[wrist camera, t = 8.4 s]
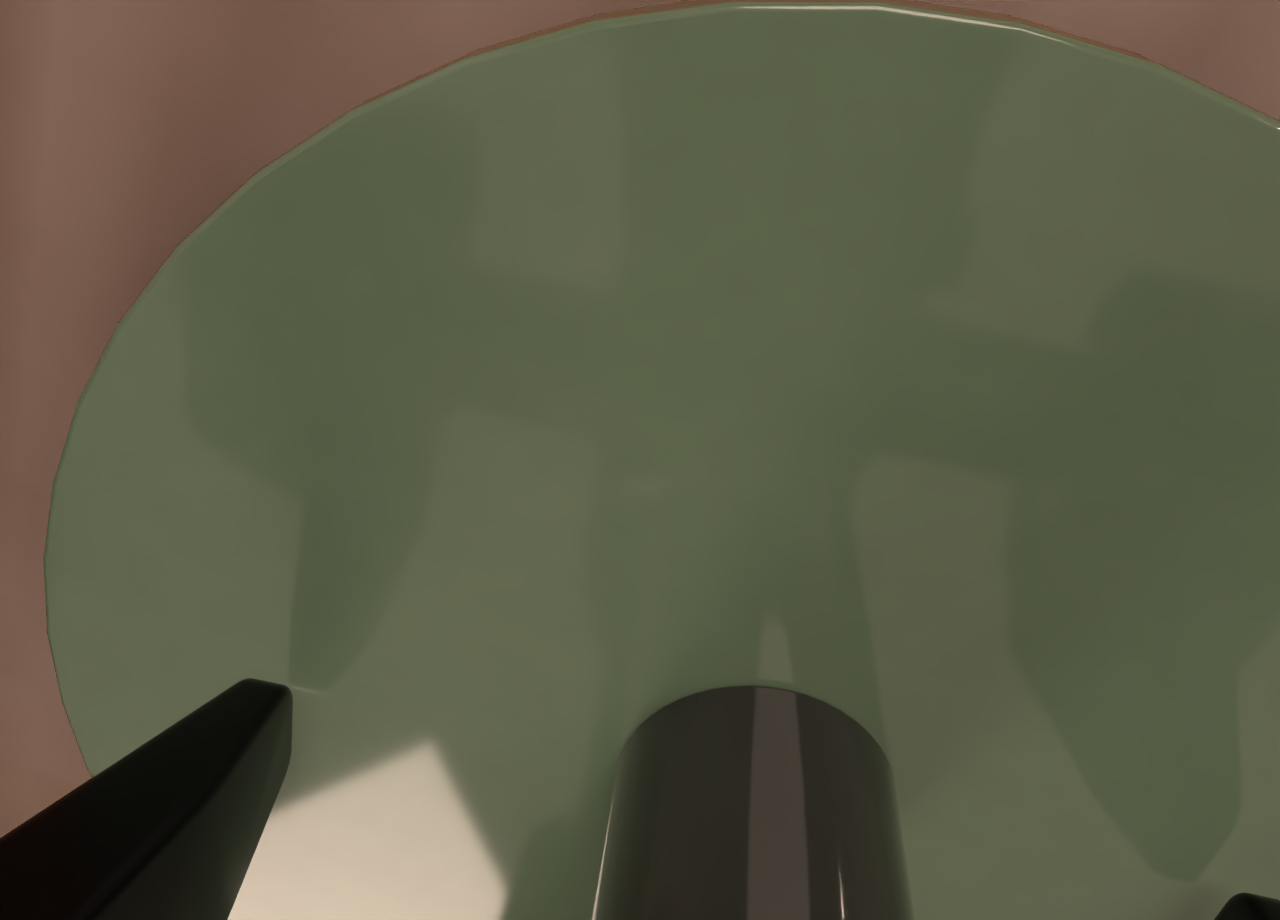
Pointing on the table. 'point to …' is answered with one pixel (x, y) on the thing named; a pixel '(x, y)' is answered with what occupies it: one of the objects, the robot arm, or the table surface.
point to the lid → (717, 481)
